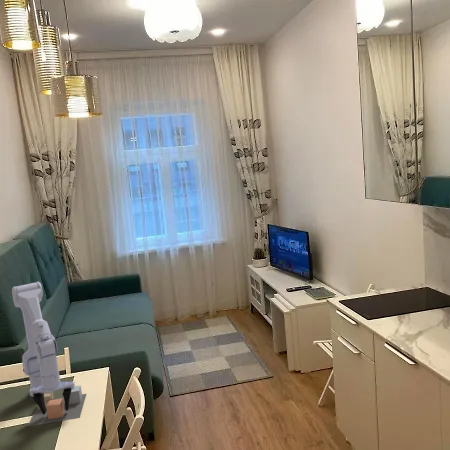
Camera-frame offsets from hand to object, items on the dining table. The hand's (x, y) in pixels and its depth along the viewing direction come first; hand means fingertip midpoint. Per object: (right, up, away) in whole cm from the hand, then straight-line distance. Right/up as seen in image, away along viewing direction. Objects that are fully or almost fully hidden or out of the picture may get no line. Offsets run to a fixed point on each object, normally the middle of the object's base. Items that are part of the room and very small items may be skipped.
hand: (56, 411), depth 165 cm
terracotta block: (0, -1, 0) cm, 1 cm away
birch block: (-6, -1, +8) cm, 10 cm away
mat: (0, -1, +4) cm, 4 cm away
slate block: (+4, 0, +9) cm, 10 cm away
